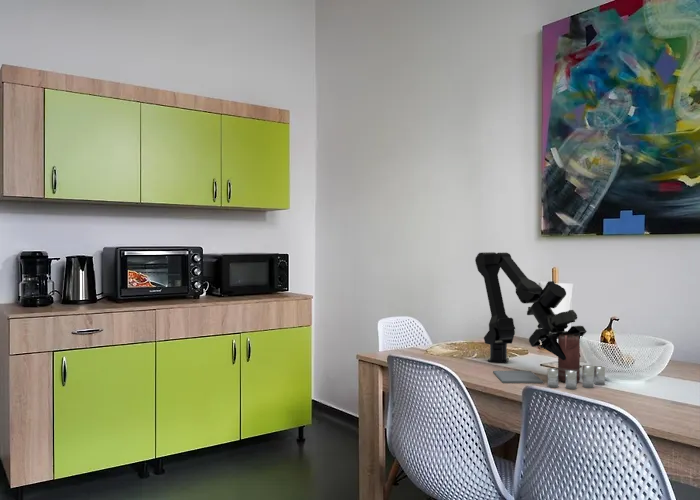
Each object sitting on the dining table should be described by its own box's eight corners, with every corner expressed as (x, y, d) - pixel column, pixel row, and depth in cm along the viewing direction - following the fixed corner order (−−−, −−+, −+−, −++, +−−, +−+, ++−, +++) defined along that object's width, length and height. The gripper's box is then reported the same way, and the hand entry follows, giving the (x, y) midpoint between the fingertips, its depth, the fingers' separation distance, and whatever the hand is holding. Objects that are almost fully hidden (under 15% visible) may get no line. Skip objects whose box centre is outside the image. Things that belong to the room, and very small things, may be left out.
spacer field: (545, 385, 169) (545, 365, 169) (598, 378, 177) (598, 359, 177) (564, 391, 162) (564, 370, 162) (618, 384, 170) (618, 363, 170)
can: (556, 382, 173) (556, 335, 173) (559, 377, 179) (559, 332, 179) (578, 384, 170) (578, 337, 170) (580, 379, 176) (580, 334, 176)
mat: (493, 372, 186) (493, 370, 186) (530, 372, 186) (530, 370, 186) (502, 383, 172) (502, 381, 172) (543, 383, 172) (543, 381, 172)
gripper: (535, 302, 174) (562, 345, 164) (581, 300, 182) (610, 340, 172) (517, 325, 181) (542, 367, 171) (563, 321, 189) (589, 361, 179)
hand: (572, 358), depth 173 cm, fingers closed on can, 5 cm apart
